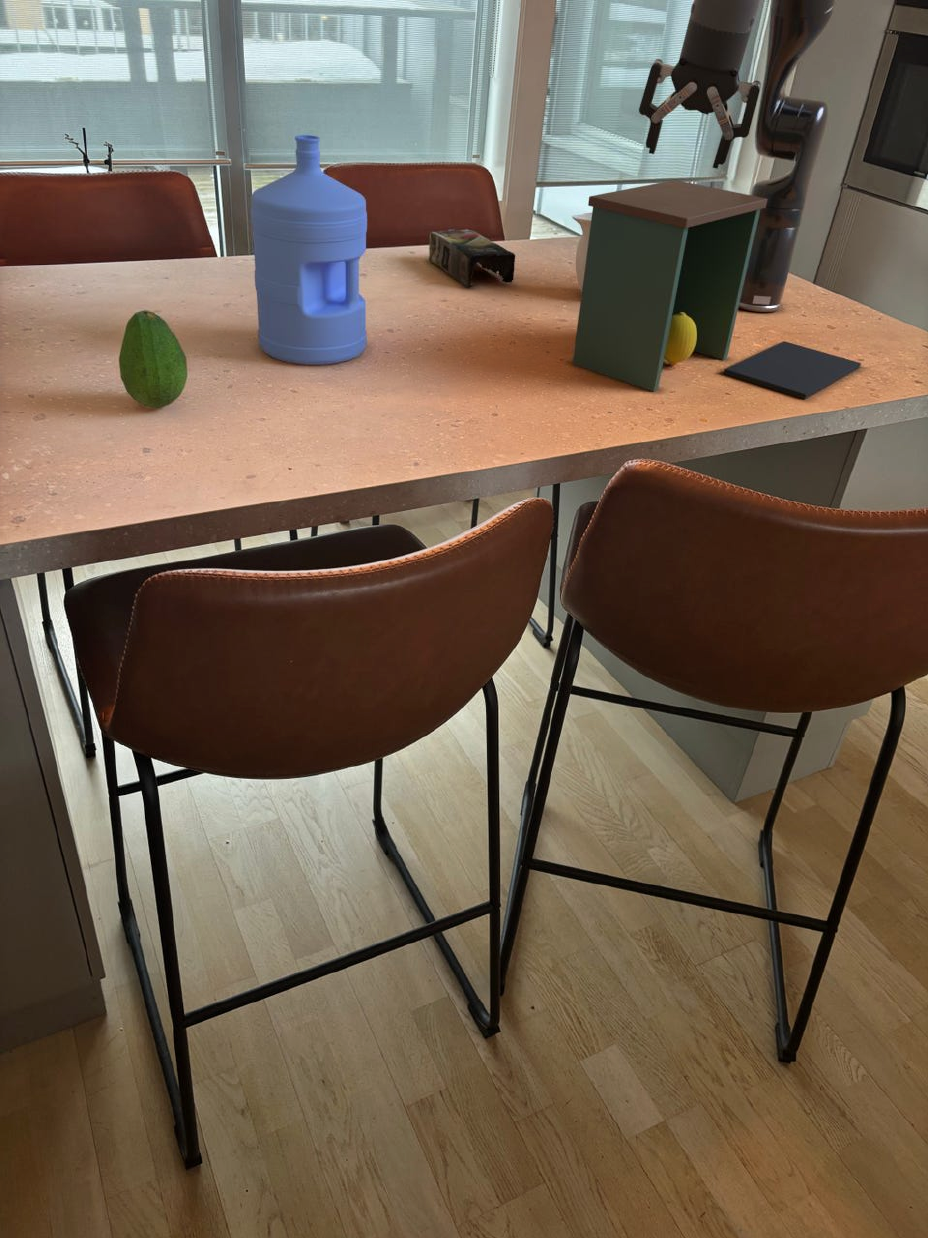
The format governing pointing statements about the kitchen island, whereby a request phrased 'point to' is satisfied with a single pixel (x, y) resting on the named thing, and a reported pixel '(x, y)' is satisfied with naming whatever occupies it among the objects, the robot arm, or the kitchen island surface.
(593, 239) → the cupboard
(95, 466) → the kitchen island surface
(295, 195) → the water jug
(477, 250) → the dark printed box
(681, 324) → the lemon
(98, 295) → the kitchen island surface
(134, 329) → the avocado
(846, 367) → the mat
